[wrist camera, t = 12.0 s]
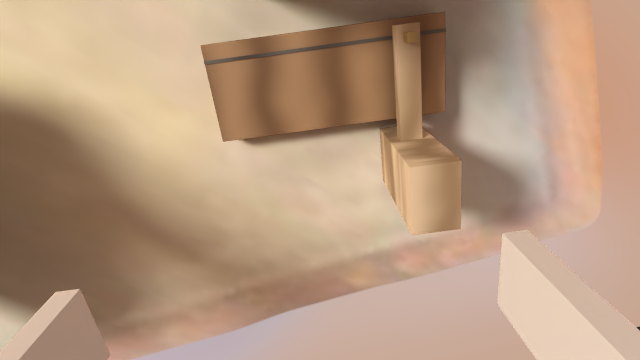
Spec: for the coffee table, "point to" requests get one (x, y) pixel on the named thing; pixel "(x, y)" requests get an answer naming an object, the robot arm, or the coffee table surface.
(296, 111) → the walnut board
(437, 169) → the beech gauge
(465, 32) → the coffee table surface
